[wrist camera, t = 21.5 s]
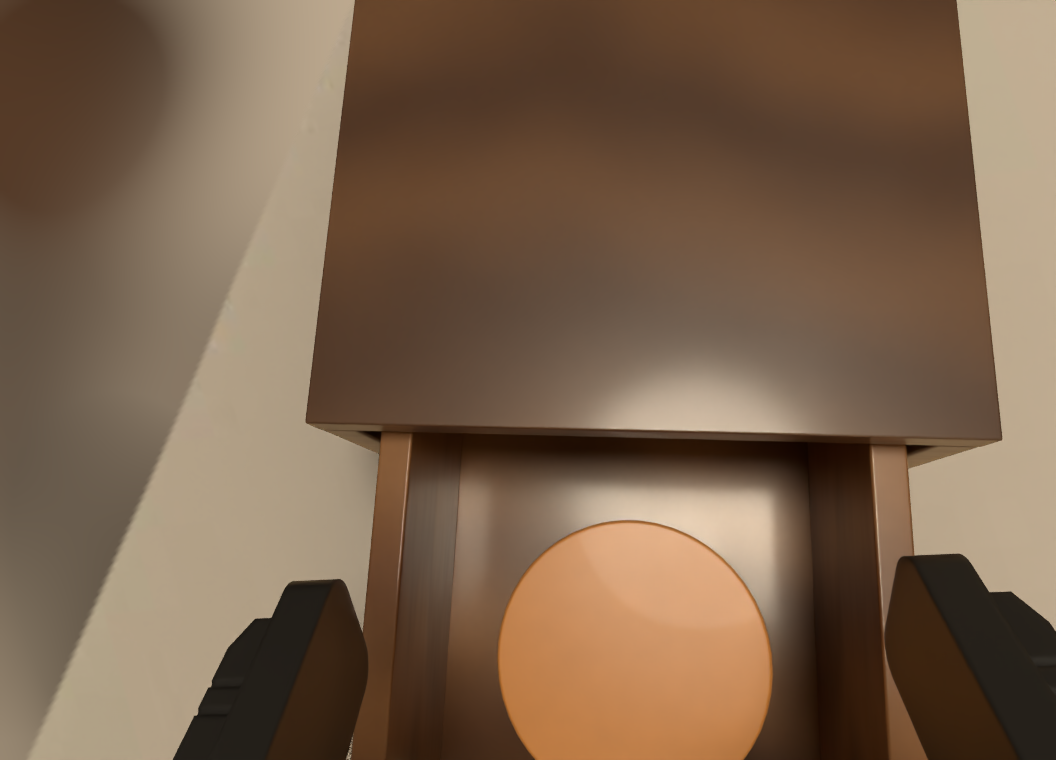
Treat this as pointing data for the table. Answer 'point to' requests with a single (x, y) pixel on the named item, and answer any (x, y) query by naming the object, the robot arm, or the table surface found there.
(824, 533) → the drawer
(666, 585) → the orange cylinder
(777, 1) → the cabinet
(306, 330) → the table surface
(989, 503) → the table surface
